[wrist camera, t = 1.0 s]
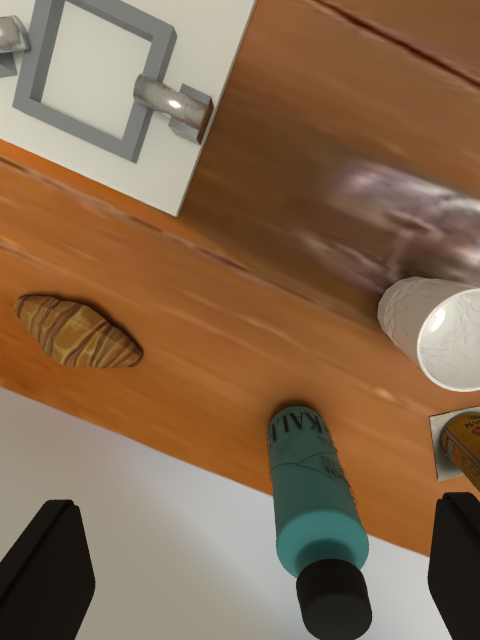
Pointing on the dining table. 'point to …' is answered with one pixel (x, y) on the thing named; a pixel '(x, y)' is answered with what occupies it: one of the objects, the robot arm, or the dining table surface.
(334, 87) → the dining table surface
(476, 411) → the condiment
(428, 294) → the white cup
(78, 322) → the croissant
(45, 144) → the board
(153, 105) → the shaft
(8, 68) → the shaft
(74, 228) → the dining table surface
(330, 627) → the beverage bottle
